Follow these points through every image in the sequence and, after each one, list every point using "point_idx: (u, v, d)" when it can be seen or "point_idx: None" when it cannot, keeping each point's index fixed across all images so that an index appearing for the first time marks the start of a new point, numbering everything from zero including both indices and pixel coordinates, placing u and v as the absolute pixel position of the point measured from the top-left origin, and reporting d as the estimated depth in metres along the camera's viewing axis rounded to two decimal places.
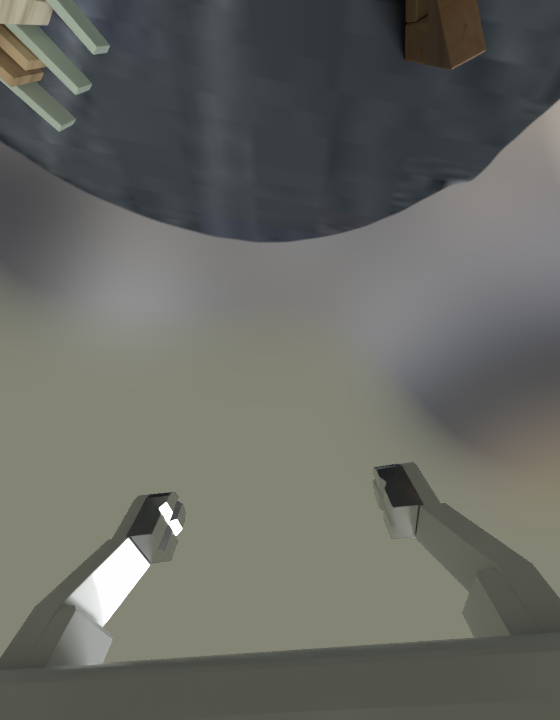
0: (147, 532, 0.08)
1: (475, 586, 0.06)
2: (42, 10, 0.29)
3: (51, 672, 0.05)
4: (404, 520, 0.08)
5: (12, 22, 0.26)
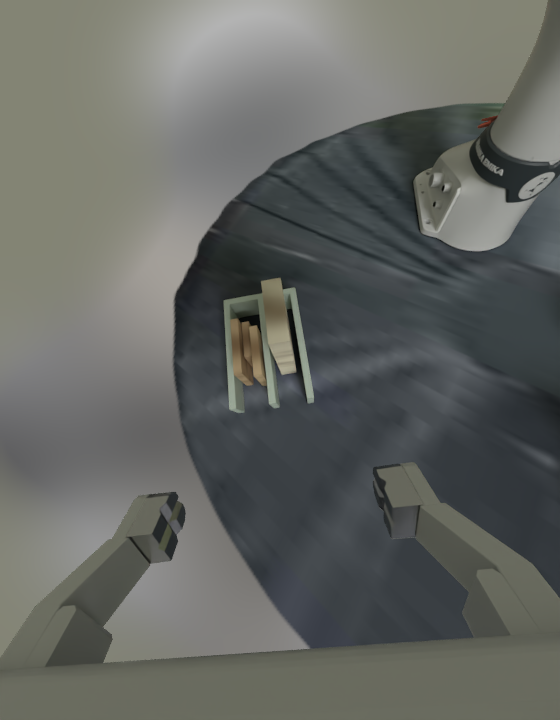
0: (147, 532, 0.08)
1: (475, 586, 0.06)
2: (290, 369, 0.39)
3: (51, 672, 0.05)
4: (404, 520, 0.08)
5: None
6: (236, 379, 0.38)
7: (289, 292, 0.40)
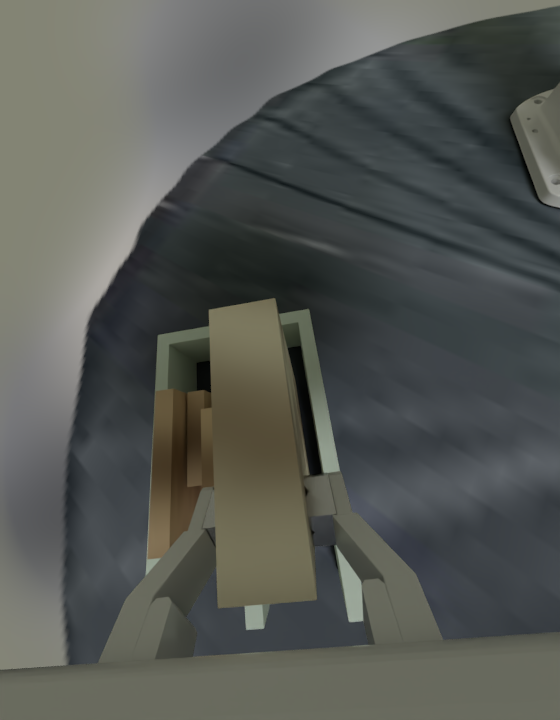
0: None
1: (362, 595, 0.06)
2: None
3: (51, 672, 0.05)
4: (321, 529, 0.08)
5: None
6: None
7: (297, 320, 0.19)
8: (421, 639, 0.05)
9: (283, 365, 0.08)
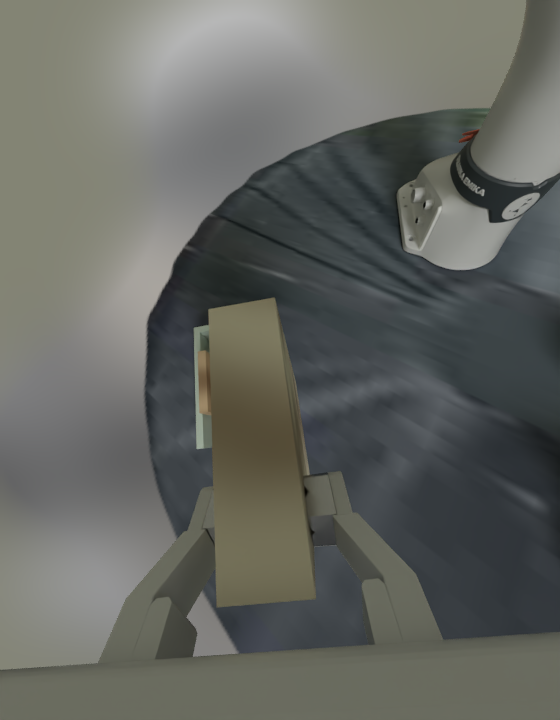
0: None
1: (362, 595, 0.06)
2: None
3: (51, 672, 0.05)
4: (321, 529, 0.08)
5: None
6: None
7: None
8: (421, 639, 0.05)
9: (282, 364, 0.08)
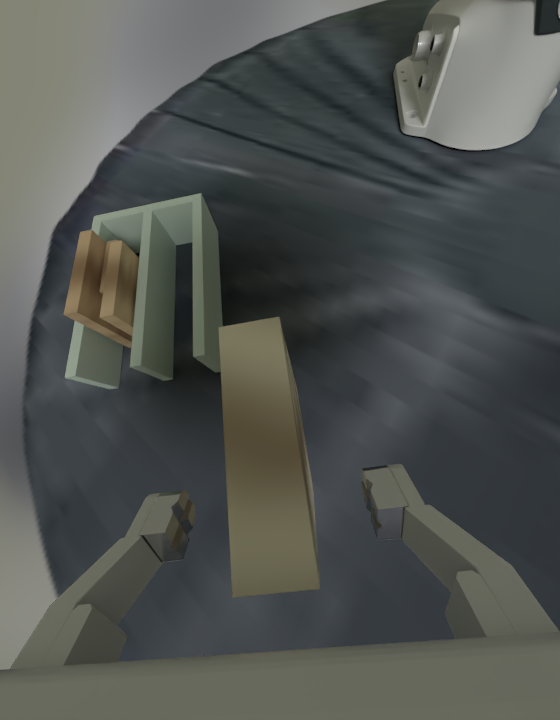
0: (159, 531, 0.08)
1: (455, 588, 0.06)
2: None
3: (51, 672, 0.05)
4: (389, 522, 0.08)
5: None
6: (95, 332, 0.23)
7: (191, 200, 0.26)
8: (536, 631, 0.05)
9: (287, 379, 0.09)
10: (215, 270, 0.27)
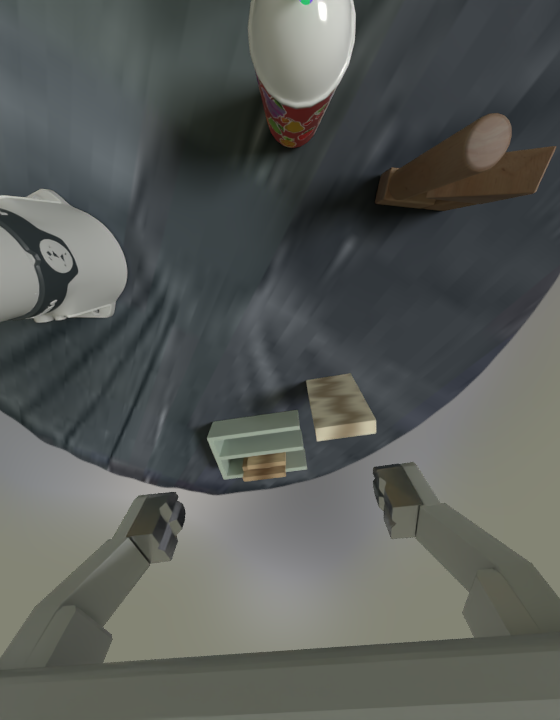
0: (147, 532, 0.08)
1: (475, 586, 0.06)
2: None
3: (51, 672, 0.05)
4: (404, 520, 0.08)
5: None
6: None
7: (212, 441, 0.49)
8: None
9: (333, 426, 0.36)
10: (244, 421, 0.51)
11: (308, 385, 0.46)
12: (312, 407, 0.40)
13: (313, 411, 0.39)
